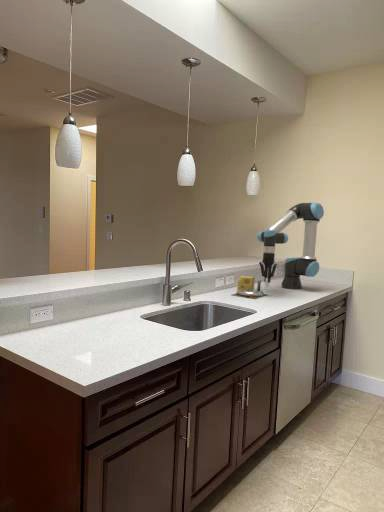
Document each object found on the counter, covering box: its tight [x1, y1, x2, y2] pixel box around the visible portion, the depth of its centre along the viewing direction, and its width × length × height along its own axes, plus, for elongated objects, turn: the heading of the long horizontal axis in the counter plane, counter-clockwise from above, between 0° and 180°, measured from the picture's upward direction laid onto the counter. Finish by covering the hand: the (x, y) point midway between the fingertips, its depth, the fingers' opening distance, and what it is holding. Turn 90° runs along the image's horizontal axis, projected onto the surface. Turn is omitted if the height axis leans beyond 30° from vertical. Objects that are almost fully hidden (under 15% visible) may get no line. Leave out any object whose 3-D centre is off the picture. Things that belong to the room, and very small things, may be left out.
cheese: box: [236, 275, 256, 291], centre depth 282 cm, size 10×11×10 cm
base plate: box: [231, 292, 269, 300], centre depth 264 cm, size 19×18×1 cm
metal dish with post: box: [236, 279, 264, 297], centre depth 263 cm, size 18×18×9 cm
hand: (267, 287), depth 263 cm, fingers closed
